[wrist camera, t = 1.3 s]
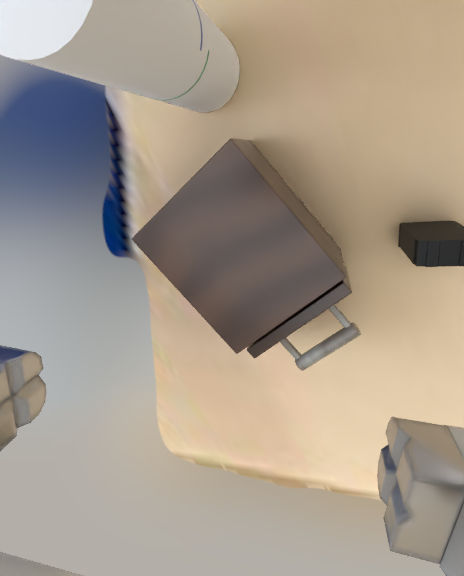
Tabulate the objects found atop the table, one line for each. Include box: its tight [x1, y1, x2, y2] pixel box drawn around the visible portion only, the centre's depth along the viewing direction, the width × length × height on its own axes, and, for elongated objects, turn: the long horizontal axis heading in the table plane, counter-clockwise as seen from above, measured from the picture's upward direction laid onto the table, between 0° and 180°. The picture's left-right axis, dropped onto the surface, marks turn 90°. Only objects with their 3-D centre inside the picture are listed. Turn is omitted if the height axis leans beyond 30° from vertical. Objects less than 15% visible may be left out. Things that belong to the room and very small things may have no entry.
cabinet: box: [132, 139, 346, 354], centre depth 37 cm, size 15×13×9 cm
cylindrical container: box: [0, 0, 240, 112], centre depth 25 cm, size 7×7×25 cm
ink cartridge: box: [398, 221, 464, 267], centre depth 34 cm, size 5×2×8 cm, turn 95°
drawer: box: [247, 265, 361, 370], centre depth 38 cm, size 18×11×7 cm, turn 43°
